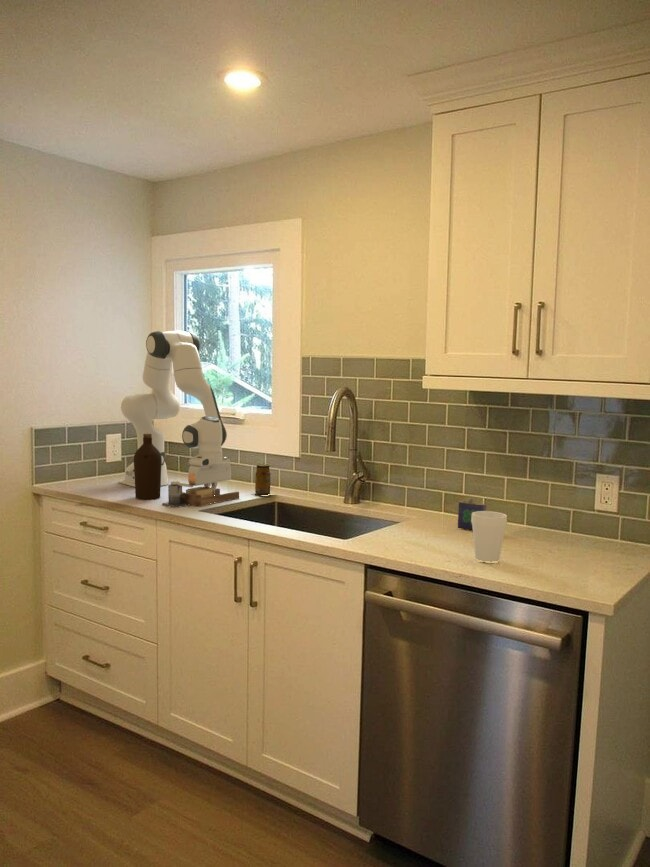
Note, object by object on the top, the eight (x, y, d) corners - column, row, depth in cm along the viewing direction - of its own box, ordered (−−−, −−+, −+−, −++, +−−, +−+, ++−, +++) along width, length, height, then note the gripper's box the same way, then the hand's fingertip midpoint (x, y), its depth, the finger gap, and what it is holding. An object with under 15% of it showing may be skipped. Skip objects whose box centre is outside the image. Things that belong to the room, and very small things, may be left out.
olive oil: (166, 498, 282) (166, 434, 279) (140, 501, 276) (139, 435, 273) (155, 494, 290) (154, 432, 288) (129, 496, 284) (129, 433, 282)
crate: (185, 502, 275) (185, 488, 274) (201, 499, 281) (201, 486, 281) (197, 504, 271) (197, 490, 271) (212, 501, 278) (212, 488, 277)
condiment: (265, 492, 299) (265, 463, 298) (277, 495, 293) (277, 466, 292) (250, 494, 295) (250, 464, 294) (262, 497, 288) (262, 467, 287)
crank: (169, 484, 268) (169, 471, 268) (175, 483, 271) (175, 470, 270) (190, 488, 261) (190, 475, 261) (197, 487, 264) (197, 473, 264)
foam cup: (464, 561, 199) (466, 515, 198) (477, 554, 207) (479, 509, 206) (497, 567, 194) (499, 519, 193) (509, 560, 202) (511, 514, 200)
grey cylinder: (162, 505, 269) (162, 485, 268) (176, 502, 274) (176, 483, 274) (175, 507, 265) (175, 487, 264) (188, 505, 270) (188, 485, 269)
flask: (486, 530, 237) (487, 498, 236) (483, 532, 234) (484, 499, 233) (459, 527, 241) (460, 495, 240) (455, 528, 239) (456, 496, 238)
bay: (175, 502, 275) (175, 491, 274) (217, 494, 292) (217, 484, 292) (197, 506, 268) (197, 495, 267) (239, 498, 285) (239, 488, 285)
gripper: (223, 455, 290) (223, 489, 291) (185, 460, 273) (185, 496, 275) (235, 457, 286) (235, 491, 287) (197, 462, 270) (197, 499, 271)
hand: (210, 494), depth 281 cm, fingers closed
